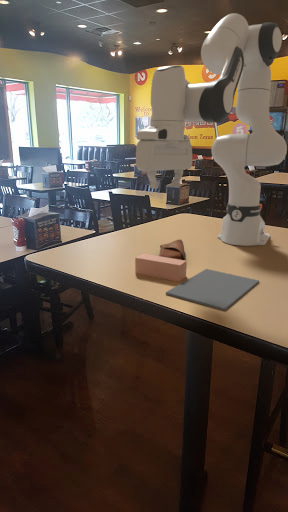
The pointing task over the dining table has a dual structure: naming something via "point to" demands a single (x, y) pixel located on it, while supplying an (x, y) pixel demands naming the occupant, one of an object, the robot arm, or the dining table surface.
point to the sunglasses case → (173, 250)
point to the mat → (213, 289)
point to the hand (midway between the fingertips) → (165, 187)
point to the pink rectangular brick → (160, 267)
